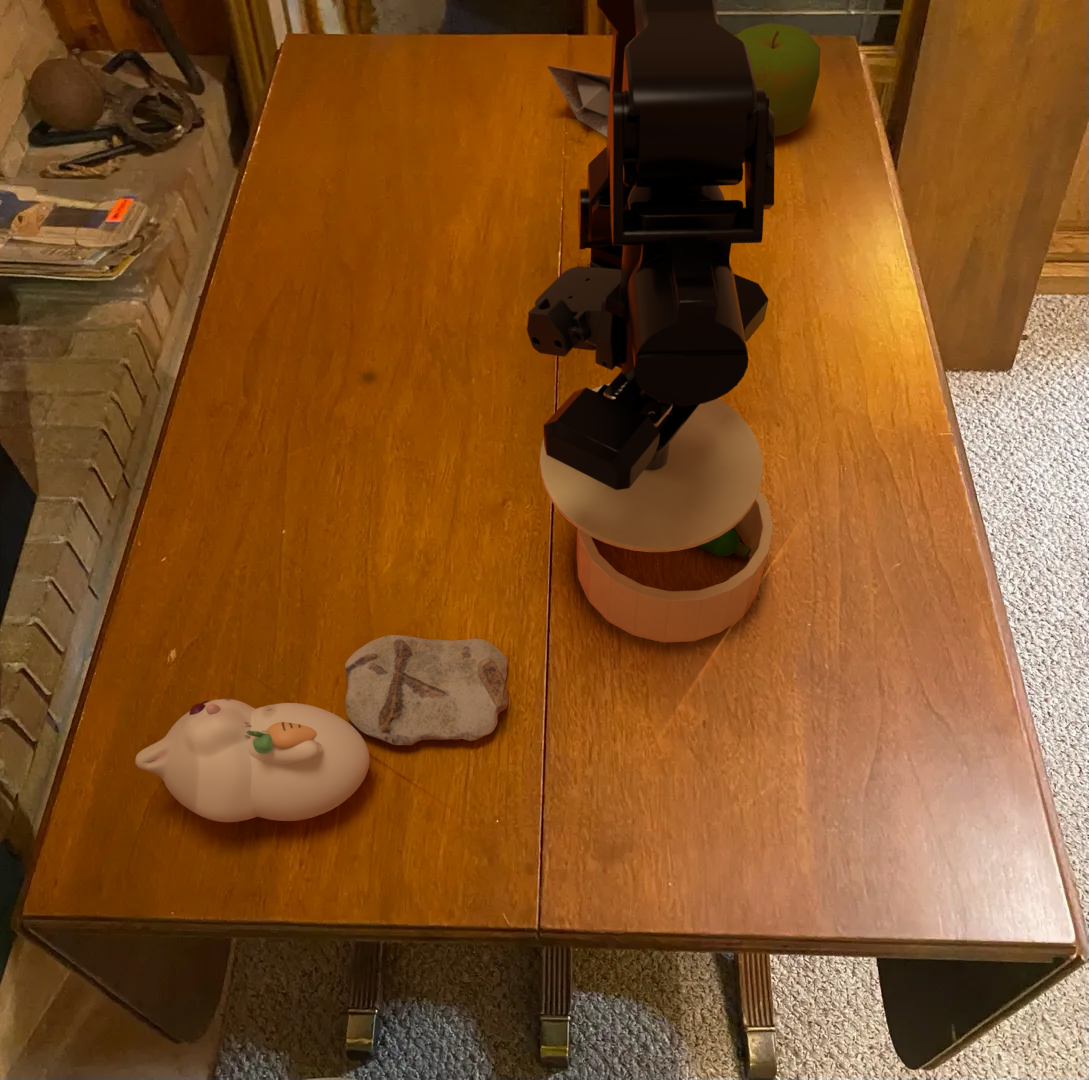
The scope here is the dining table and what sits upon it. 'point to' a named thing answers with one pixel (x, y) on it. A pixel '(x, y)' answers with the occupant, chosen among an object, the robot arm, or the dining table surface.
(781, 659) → the dining table surface
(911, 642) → the dining table surface
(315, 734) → the bunny figurine
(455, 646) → the stone
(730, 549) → the green zucchini
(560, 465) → the pot lid
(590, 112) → the paper boat
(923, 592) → the dining table surface
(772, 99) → the apple
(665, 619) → the pot
